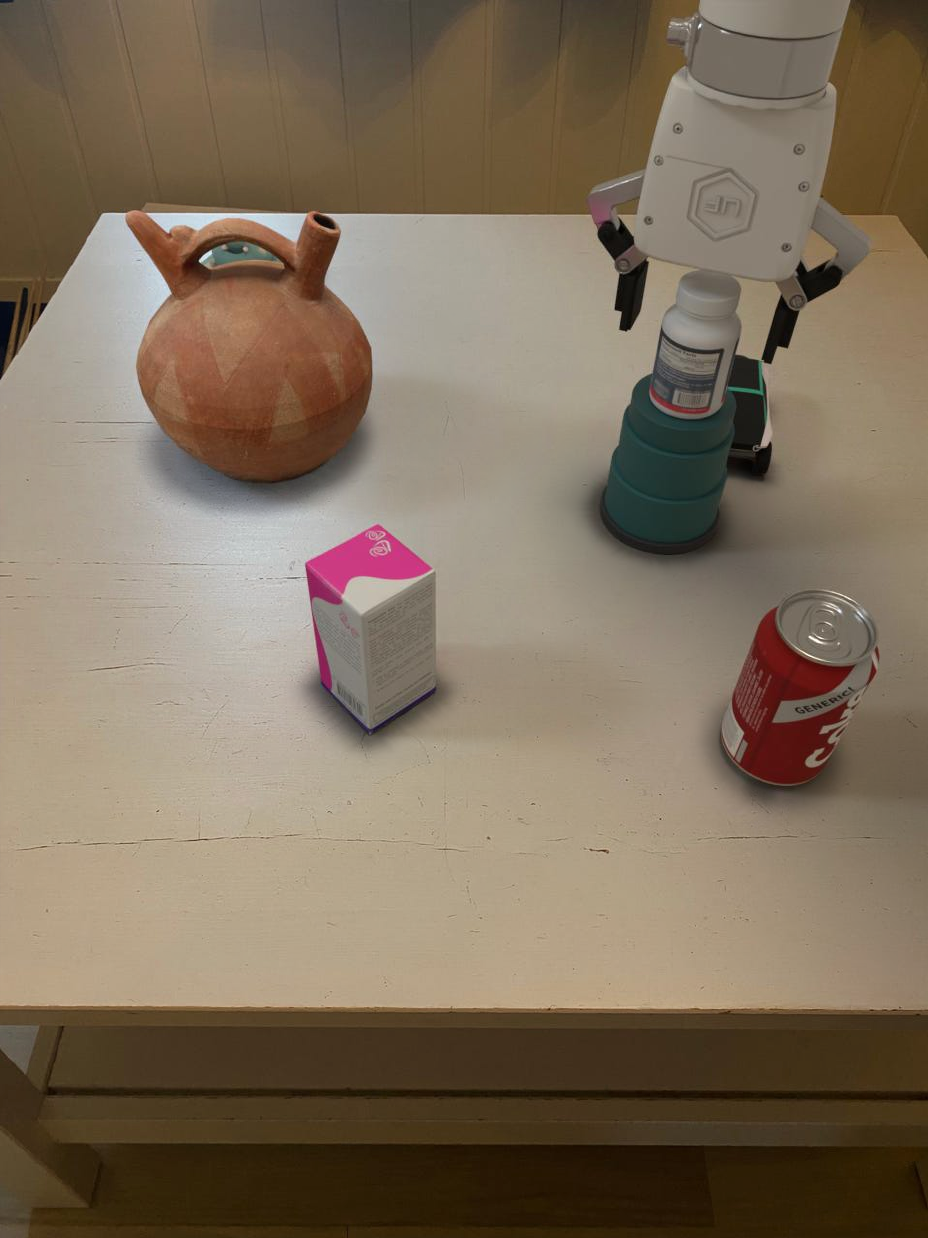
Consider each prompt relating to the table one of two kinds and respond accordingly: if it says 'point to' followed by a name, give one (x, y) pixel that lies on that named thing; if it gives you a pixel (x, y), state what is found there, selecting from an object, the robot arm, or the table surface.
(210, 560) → the table surface
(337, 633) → the supplement box
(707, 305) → the pill bottle
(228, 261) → the stuffed animal
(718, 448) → the cup stack
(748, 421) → the toy car
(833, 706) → the soda can
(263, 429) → the jug
